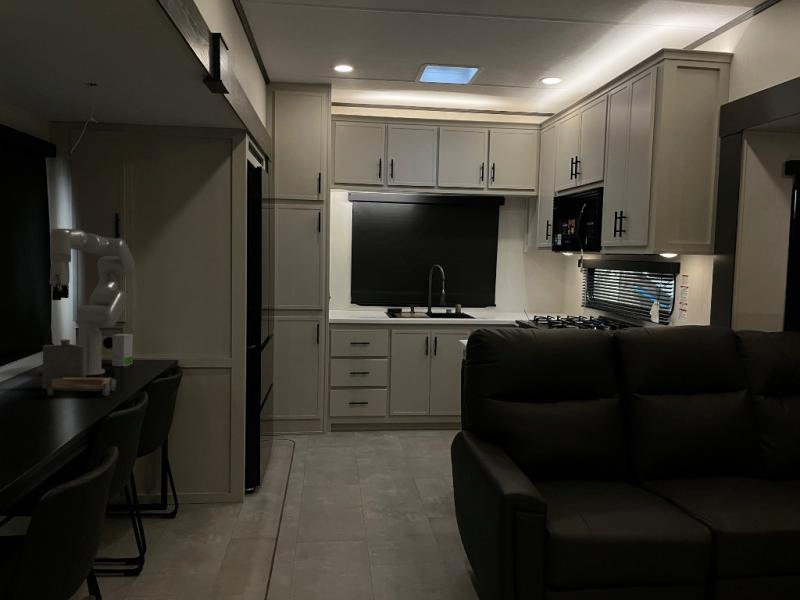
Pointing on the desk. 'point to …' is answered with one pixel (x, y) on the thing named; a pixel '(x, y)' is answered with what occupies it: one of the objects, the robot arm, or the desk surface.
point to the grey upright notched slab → (63, 361)
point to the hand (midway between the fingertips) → (60, 299)
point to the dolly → (82, 385)
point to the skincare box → (122, 349)
